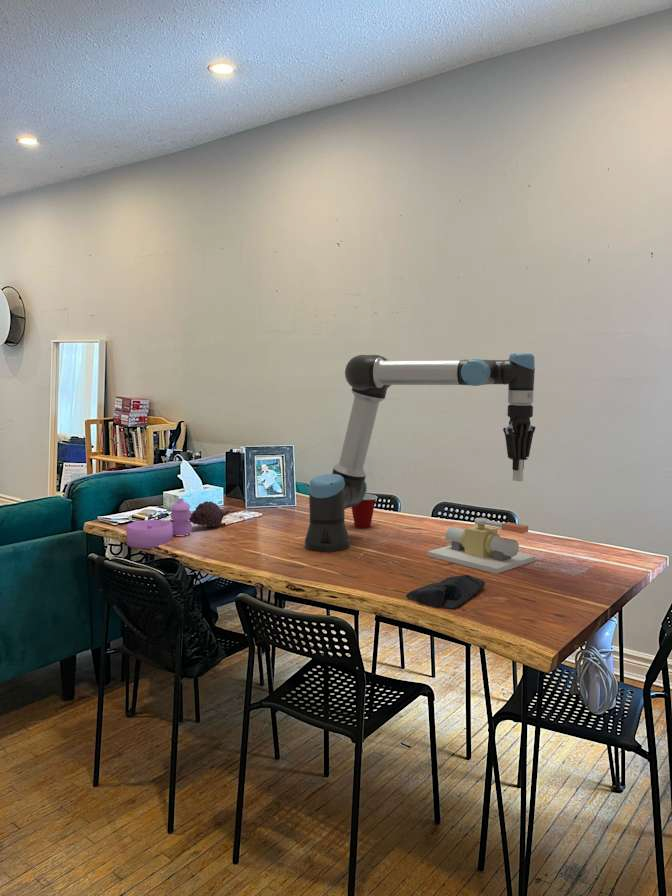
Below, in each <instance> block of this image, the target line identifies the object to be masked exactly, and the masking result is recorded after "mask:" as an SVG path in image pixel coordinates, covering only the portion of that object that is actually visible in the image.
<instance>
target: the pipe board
mask: <svg viewBox="0 0 672 896" xmlns="http://www.w3.org/2000/svg"><path fill="white" fill-rule="evenodd" d="M445 540H446V542H447V543H450V544H451V545H447V546H443V547H439V548H436V549H431V550H428V551H427V557H430V558H433V559H437V560H441V561H445V562H449V563H452V564H453V563H454V564H457V565H461V566H465V567H468V568H472V569H477V570H480V571H484V572H487V573H490V574H491V573H492V574H499V573H503V572H506V571H509V570H512V569H514V568H518V567H521V566H524V565H527V564H530V563H533V562H536V555H531V554H527V553H524V552H519V547H520V546H519V541H518V540H517V539H512V538H507V537H503V536H501V535H500V534H499V533H498V527H493V526H488V525H473V526H469V527H465V528H459V527H453V526H449V527H448V528H447V530H446V532H445Z"/></svg>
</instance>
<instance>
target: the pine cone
mask: <svg viewBox="0 0 672 896" xmlns="http://www.w3.org/2000/svg"><path fill="white" fill-rule="evenodd" d="M229 513H230V510H228V509H222V508H221V507H219V505H218V504H217V503H215V502H213V501H207V500H205V501H204V502H203V503H199V504H198V505H197V506H196V507H195V509H194V511H192V512H191V517H190V519H188V521H189V522H190V523H191V524H193V525H198V526H207V527H208V528H214V527H217V526H220V525H221V523H222V521H223V519H224V517H226V516H227V515H228V514H229Z"/></svg>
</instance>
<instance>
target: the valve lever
mask: <svg viewBox="0 0 672 896" xmlns="http://www.w3.org/2000/svg"><path fill="white" fill-rule="evenodd" d="M474 524H475V526H477V525H485V526H487V527H493V528H499V529H501V531H507V532H511V533H517V534H521V535H522V534H525V533H528V532H529V525H526V524H520V523H515V522H509V521H507V522H499V521H495V520H490V519H488V518H486V517H476V518H475V517H474Z"/></svg>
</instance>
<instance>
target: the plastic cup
mask: <svg viewBox="0 0 672 896" xmlns="http://www.w3.org/2000/svg"><path fill="white" fill-rule="evenodd" d="M377 499H378V496H377V495H374V494H369V493H366V495H365V497H364V498H363V500H362V501H361V502H359V503H358V504H357V505H355V506H353V507H351V511H352V518H353V523H354V527H355V528H357V529H358V528H359V529H366V528H367V527H368V528H371V525H372V519H373V514H374V510H375V503H376V501H377Z"/></svg>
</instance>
